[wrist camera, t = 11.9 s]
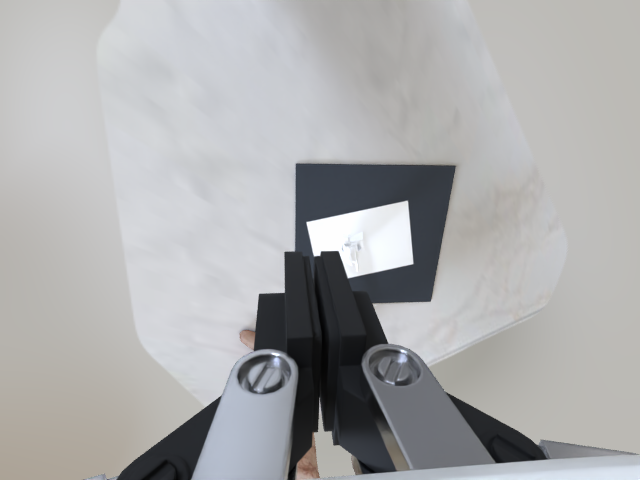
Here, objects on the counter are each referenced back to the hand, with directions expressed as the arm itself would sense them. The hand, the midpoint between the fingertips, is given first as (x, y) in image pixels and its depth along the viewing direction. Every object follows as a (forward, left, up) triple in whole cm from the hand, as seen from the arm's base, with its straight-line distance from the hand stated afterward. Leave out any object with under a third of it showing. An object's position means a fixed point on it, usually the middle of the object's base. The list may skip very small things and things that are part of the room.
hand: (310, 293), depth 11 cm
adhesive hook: (+8, +7, -22) cm, 25 cm away
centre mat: (+8, +8, -22) cm, 25 cm away
